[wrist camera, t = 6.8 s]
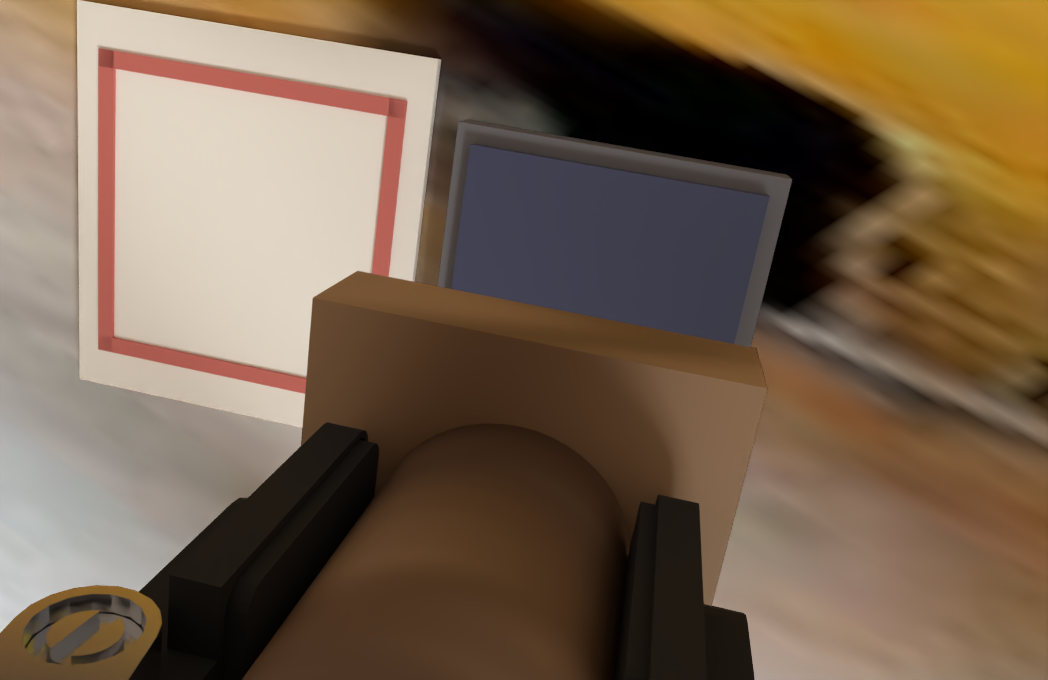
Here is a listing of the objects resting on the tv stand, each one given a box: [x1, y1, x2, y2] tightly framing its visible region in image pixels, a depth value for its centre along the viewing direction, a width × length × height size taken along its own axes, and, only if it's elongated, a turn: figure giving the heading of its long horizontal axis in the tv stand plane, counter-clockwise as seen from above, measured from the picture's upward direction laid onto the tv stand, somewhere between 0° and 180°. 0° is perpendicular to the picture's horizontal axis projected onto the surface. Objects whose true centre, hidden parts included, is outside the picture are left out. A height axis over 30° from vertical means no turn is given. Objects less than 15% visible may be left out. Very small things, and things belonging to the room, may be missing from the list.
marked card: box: [77, 0, 441, 428], centre depth 27 cm, size 11×12×1 cm
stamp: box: [242, 271, 768, 680], centre depth 10 cm, size 6×6×9 cm
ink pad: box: [438, 120, 792, 347], centre depth 25 cm, size 9×9×2 cm
